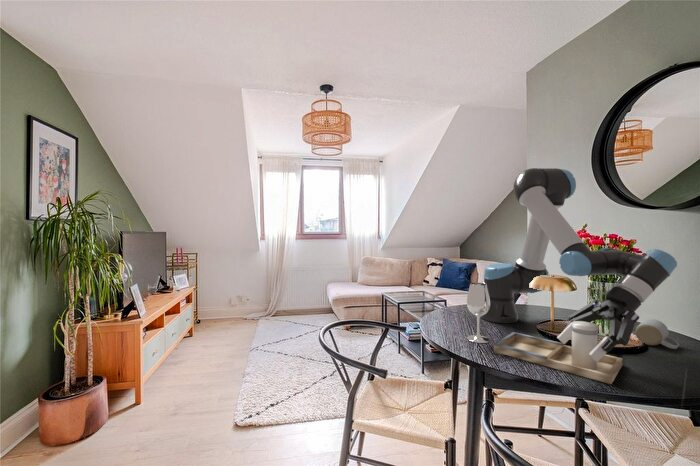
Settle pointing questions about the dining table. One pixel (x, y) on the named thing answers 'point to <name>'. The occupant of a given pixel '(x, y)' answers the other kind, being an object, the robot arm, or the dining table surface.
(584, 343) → the domed white canister
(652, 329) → the ceramic mug
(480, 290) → the wineglass
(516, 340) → the bay tray
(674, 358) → the dining table surface
